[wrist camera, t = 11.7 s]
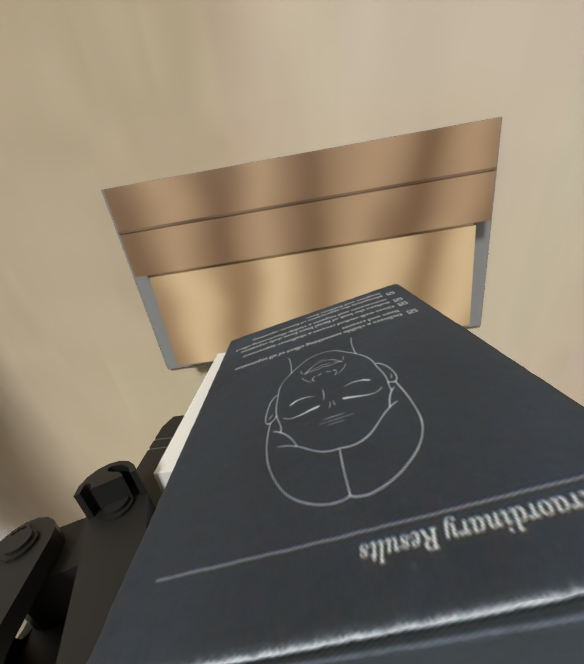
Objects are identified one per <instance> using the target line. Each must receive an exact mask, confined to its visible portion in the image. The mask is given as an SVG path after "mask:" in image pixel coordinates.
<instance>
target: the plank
mask: <svg viewBox="0 0 584 664" xmlns="http://www.w3.org/2000/svg"><path fill="white" fill-rule="evenodd" d="M475 233H476V225H474V223H469V224H463V225H457V226H451V227H444V228H438V229H432V230H426V231H420V232H414V233H407V234H401V235H395V236H389V237H383V238H376V239H370V240H364V241H358V242H352V243H346V244H339V245H333V246H327V247H321V248H315V249H308V250H302V251H296V252H290V253H284V254H278V255H271V256H265V257H259V258H253V259H247V260H240V261H234V262H228V263H222V264H216V265H210V266H203V267H197V268H191V269H185V270H179V271H173V272H166V273H160V274H154V275H150V276H151V278H149V279H150V282H151V285H152V288H153V291H154V294H155V297H156V300H157V303H158V307H159V310H160V313H161V316H162V319H163V322H164V325H165V328H166V331H167V334H168V337H169V340H170V343H171V346H172V349H173V352H174V355H175V358H176V361H177V364H178V366H182V365H189V364H196V363H203V362H210V361H214V360H215V358H216V356H217V354H219V353H226V351H227V349H228V347H229V344H230V342H231V341H232V340H235V339H238V338H240V337H243V336H246V335H248V334H251V333H254V332H257V331H260V330H263V329H266V328H269V327H272V326H274V325H277V324H280V323H283V322H286V321H289V320H291V319H294V318H297V317H300V316H303V315H306V314H309V313H312V312H315V311H317V310H320V309H323V308H326V307H328V306H332V305H334V304H337V303H340V302H343V301H346V300H349V299H352V298H355V297H358V296H360V295H363V294H366V293H369V292H372V291H374V290H378V289H381V288H384V287H386V286H390V285H393V284H398V285H400V286H402V287H403V288H405V289H406V290H408V291H409V292H411V293H412V294H414V295H415V296H417V297H418V298H419V299H421V300H423V301H424V302H425V303H427V304H429V305H430V306H432V307H433V308H435V309H436V310H438V311H440V312H441V313H442V314H443V315H445V316H447V317H448V318H450V319H451V320H453V321H454V322H456V323H458V324H460V325H461V326H466V325H470V311H471V295H472V280H473V264H474V249H475Z"/></svg>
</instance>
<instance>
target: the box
mask: <svg viewBox="0 0 584 664" xmlns="http://www.w3.org/2000/svg"><path fill="white" fill-rule="evenodd" d="M86 664H584V407H583V406H582V405H580V404H578V403H577V402H575V401H574V400H572V399H571V398H569V397H568V396H566V395H565V394H563V393H562V392H560V391H559V390H557V389H556V388H554V387H553V386H551V385H550V384H548V383H547V382H545V381H544V380H542V379H541V378H539V377H537V376H536V375H534V374H532V373H531V372H529V371H528V370H527V369H525V368H524V367H523V366H521V365H519V364H518V363H516V362H515V361H513V360H512V359H510V358H508V357H507V356H505V355H504V354H502V353H501V352H499V351H498V350H497V349H495V348H494V347H492V346H491V345H489V344H488V343H486V342H485V341H483V340H482V339H480V338H479V337H477V336H476V335H474V334H473V333H471V332H470V331H468V330H467V329H465V328H463V327H462V326H461V325H460V324H458V323H456V322H454V321H453V320H451V319H450V318H448V317H447V316H445V315H443V314H442V313H441V312H440V311H438V310H436V309H435V308H433V307H432V306H430V305H429V304H427V303H425V302H424V301H423V300H421V299H419V298H418V297H417V296H415V295H414V294H412V293H411V292H409V291H408V290H406V289H405V288H403V287H402V286H400V285H398V284H393V285H390V286H386V287H384V288H381V289H378V290H374V291H372V292H369V293H366V294H363V295H360V296H358V297H355V298H352V299H349V300H346V301H343V302H340V303H337V304H334V305H332V306H328V307H326V308H323V309H320V310H317V311H315V312H312V313H309V314H306V315H303V316H300V317H297V318H294V319H291V320H289V321H286V322H283V323H280V324H277V325H274V326H272V327H269V328H266V329H263V330H260V331H257V332H254V333H251V334H248V335H246V336H243V337H240V338H238V339H235V340H232V341H231V342H230V344H229V347H228V349H227V351H226V354H225V356H224V358H223V360H222V362H221V365H220V367H219V369H218V371H217V373H216V376H215V378H214V380H213V382H212V384H211V387H210V389H209V391H208V394H207V396H206V398H205V400H204V402H203V405H202V407H201V409H200V411H199V414H198V416H197V418H196V420H195V423H194V425H193V427H192V429H191V431H190V433H189V436H188V437H187V440H186V442H185V445H184V447H183V449H182V451H181V453H180V456H179V458H178V459H177V462H176V464H175V467H174V469H173V471H172V473H171V475H170V478H169V480H168V482H167V485H166V487H165V489H164V491H163V493H162V495H161V497H160V499H159V501H158V504H157V507H156V510H155V512H154V514H153V516H152V518H151V520H150V523H149V525H148V527H147V530H146V532H145V534H144V537H143V539H142V541H141V543H140V545H139V547H138V549H137V551H136V553H135V555H134V558H133V560H132V562H131V564H130V566H129V568H128V570H127V573H126V575H125V578H124V580H123V582H122V585H121V587H120V589H119V591H118V593H117V596H116V598H115V600H114V602H113V604H112V607H111V609H110V611H109V614H108V616H107V619H106V621H105V624H104V627H103V629H102V632H101V634H100V636H99V638H98V640H97V642H96V644H95V647H94V649H93V651H92V653H91V655H90V657H89V660H88V661H87V663H86Z"/></svg>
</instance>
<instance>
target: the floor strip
mask: <svg viewBox="0 0 584 664" xmlns="http://www.w3.org/2000/svg"><path fill="white" fill-rule="evenodd" d="M500 126H501V117H500V118H494V119H489V120H483V121H478V122H472V123H467V124H461V125H456V126H450V127H445V128H439V129H434V130H429V131H423V132H418V133H412V134H407V135H401V136H396V137H390V138H385V139H379V140H374V141H368V142H363V143H357V144H352V145H346V146H341V147H335V148H330V149H324V150H319V151H313V152H308V153H303V154H297V155H292V156H286V157H281V158H275V159H270V160H264V161H259V162H253V163H248V164H242V165H237V166H231V167H226V168H220V169H215V170H209V171H204V172H198V173H193V174H187V175H182V176H177V177H171V178H166V179H160V180H155V181H149V182H144V183H138V184H133V185H127V186H122V187H116V188H111V189H105V190H103V191H104V193H105V196H106V199H107V202H108V204H109V207H110V210H111V212H112V215H113V218H114V221H115V223H116V226H117V229H118V231H119V232H118V233H119V234H120V237H121V240H122V242H123V245H124V248H125V250H126V253H127V256H128V259H129V261H130V264H131V267H132V269H133V272H134V275H135V277H142V276H148V275H154V274H160V273H166V272H173V271H179V270H185V269H191V268H197V267H203V266H210V265H216V264H222V263H228V262H234V261H240V260H247V259H253V258H259V257H265V256H271V255H278V254H284V253H290V252H296V251H302V250H308V249H315V248H321V247H327V246H333V245H339V244H346V243H352V242H358V241H364V240H370V239H376V238H383V237H389V236H395V235H401V234H407V233H414V232H420V231H426V230H432V229H438V228H444V227H451V226H457V225H463V224H469V223H475V222H481V221H488V220H491V214H492V204H493V194H494V185H495V175H496V170H497V167H496V165H497V155H498V145H499V136H500Z"/></svg>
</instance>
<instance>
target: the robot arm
mask: <svg viewBox="0 0 584 664" xmlns="http://www.w3.org/2000/svg"><path fill="white" fill-rule="evenodd" d="M225 354H226V353H219V354H217V356H216V358H215V360H214V362H213V364H212V365H211V367H210V369H209V371H208V373H207V375H206V377H205V379H204V380H203V382H202V384H201V386H200V388H199V390H198V392H197V393H196V395H195V397H194V399H193V401H192V403H191V405H190V406H189V408H188V410H187V412H186V414H185V415H183V416H175V417H173V418H172V419H171V420H169V421H168V422H167V423H166V424H165V425H164V426H163V427H162V428H161V430H160V432H159V433H158V435H157V436H156V438H155V441H153V443H152V445H151V446H150V450H148V451H147V453H146V454H145V456H144V458H143V459H142V461H141V463H140V464H139V466H138V467H137V469H136V468H135V466H134V464H132V463H131V462H129V461H118V462H114V463H111V464H108V465H106V466H104V467H102V468H100V469H98V470H97V471H95V472H94V473H93V474H91V475H90V476H89V477H87V478H86V479H85V481H84V482H83V483H82V484H81V485H80V486H79V487H78V489H77V491H76V493H75V495H74V498H75V499H76V501H77V502H78V504H79V506H80V507H81V509H82V510H83V512H84V513H85V515H86V516H87V517H86V518H84V519H81V520H78V521H76V522H73V523H71V524H68V525H65V526H63V527H60V528H59V526H58V525H57V524H56V522H55V521H54V520H53V519H51V518H49V517H43V518H37V519H35V520H32V521H30V522H27V523H25V524H24V525H22V526H20V527H19V528H17V529H15V530H14V531H12V532H11V533H10V534H9V535H8V536H6V537H5V538H4V539H3V540H2V541H0V664H86V663H87V661H88V660H89V657H90V655H91V653H92V651H93V649H94V647H95V644H96V642H97V640H98V638H99V636H100V634H101V632H102V629H103V627H104V624H105V621H106V619H107V616H108V614H109V611H110V609H111V607H112V604H113V602H114V600H115V598H116V596H117V593H118V591H119V589H120V587H121V585H122V582H123V580H124V578H125V575H126V573H127V570H128V568H129V566H130V564H131V562H132V560H133V558H134V555H135V553H136V551H137V549H138V547H139V545H140V543H141V541H142V539H143V537H144V534H145V532H146V530H147V527H148V525H149V523H150V520H151V518H152V516H153V514H154V512H155V510H156V507H157V504H158V501H159V499H160V497H161V495H162V493H163V491H164V489H165V487H166V485H167V482H168V480H169V478H170V475H171V473H172V471H173V469H174V467H175V464H176V462H177V459H178V458H179V456H180V453H181V451H182V449H183V447H184V445H185V442H186V440H187V437H188V436H189V433H190V431H191V429H192V427H193V425H194V423H195V420H196V418H197V416H198V414H199V411H200V409H201V407H202V405H203V402H204V400H205V398H206V396H207V394H208V391H209V389H210V387H211V384H212V382H213V380H214V378H215V376H216V373H217V371H218V369H219V367H220V365H221V362H222V360H223V358H224V356H225ZM24 619H25V620H26V621H27V623H26V626H25V627H24V629H23V631H22V632H21V634H20V635H19V637H18V638H15V636H16V634H17V632H18V631H19V628H20V627H21V625H22V623H23V621H24Z"/></svg>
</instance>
